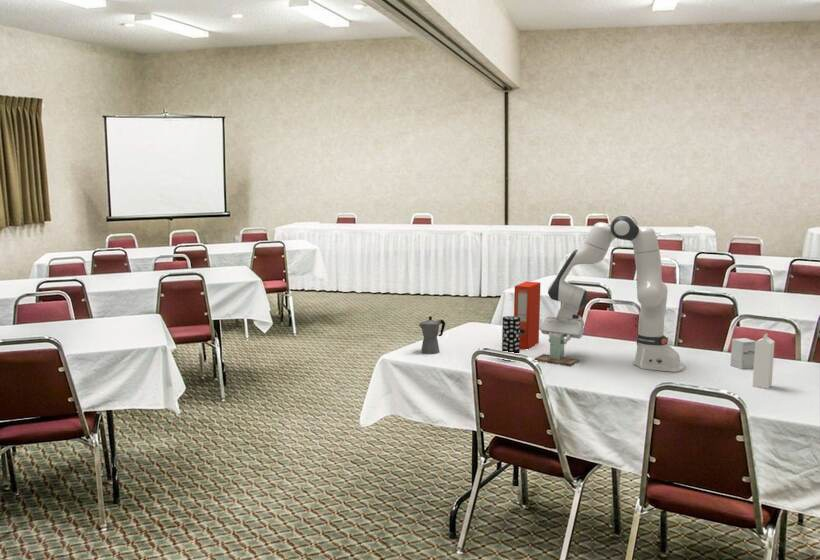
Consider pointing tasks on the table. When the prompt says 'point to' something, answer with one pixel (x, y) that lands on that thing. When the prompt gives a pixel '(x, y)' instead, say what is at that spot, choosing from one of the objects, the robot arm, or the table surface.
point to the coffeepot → (431, 335)
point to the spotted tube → (511, 334)
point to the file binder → (528, 312)
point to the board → (564, 361)
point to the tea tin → (557, 346)
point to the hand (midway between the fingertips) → (557, 342)
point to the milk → (763, 362)
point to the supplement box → (743, 353)
